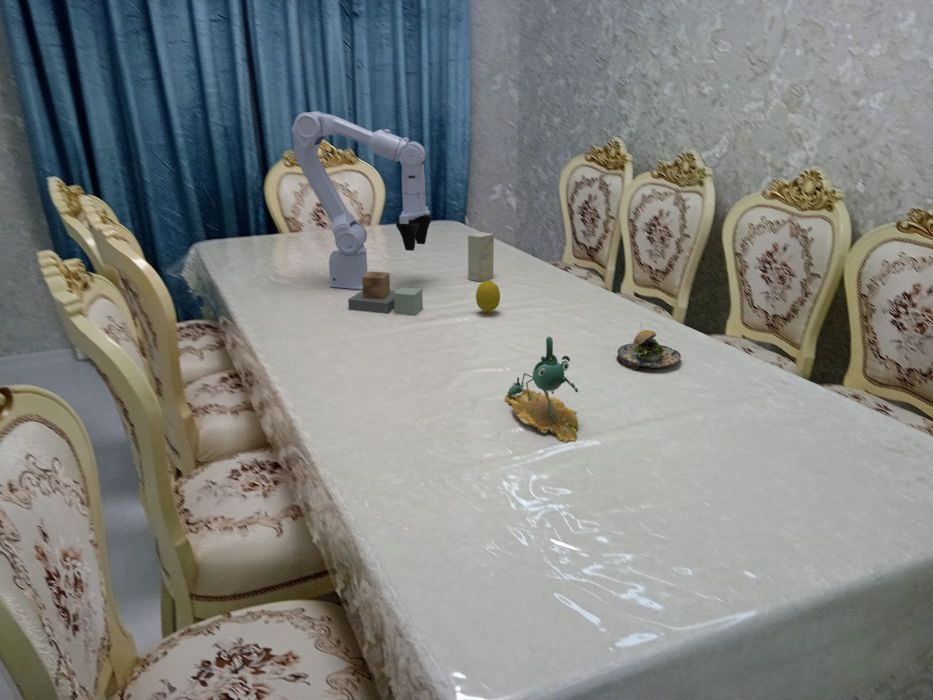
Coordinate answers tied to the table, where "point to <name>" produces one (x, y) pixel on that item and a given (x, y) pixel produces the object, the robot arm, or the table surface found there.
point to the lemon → (488, 296)
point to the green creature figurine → (545, 398)
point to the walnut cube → (376, 285)
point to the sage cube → (408, 301)
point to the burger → (646, 352)
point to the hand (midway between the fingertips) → (415, 246)
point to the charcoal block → (372, 303)
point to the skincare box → (480, 256)
